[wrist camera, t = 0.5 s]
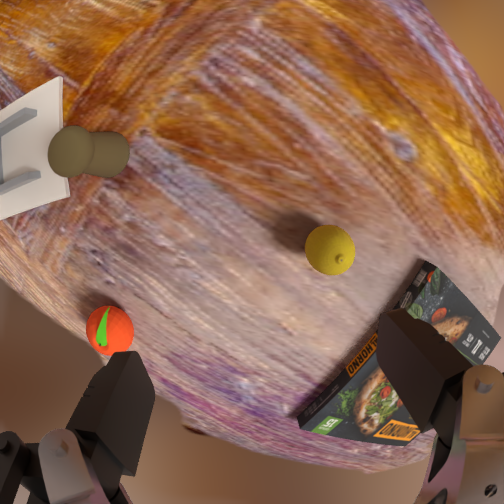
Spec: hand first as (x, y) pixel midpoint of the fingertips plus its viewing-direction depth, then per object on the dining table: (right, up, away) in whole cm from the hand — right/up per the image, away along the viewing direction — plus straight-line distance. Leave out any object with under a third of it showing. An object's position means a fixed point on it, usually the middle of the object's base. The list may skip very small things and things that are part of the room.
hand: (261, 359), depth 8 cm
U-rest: (-35, +18, +20) cm, 44 cm away
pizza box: (+32, -21, +36) cm, 53 cm away
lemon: (+8, +5, +27) cm, 28 cm away
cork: (-18, +16, +22) cm, 33 cm away
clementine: (-20, -6, +28) cm, 35 cm away
